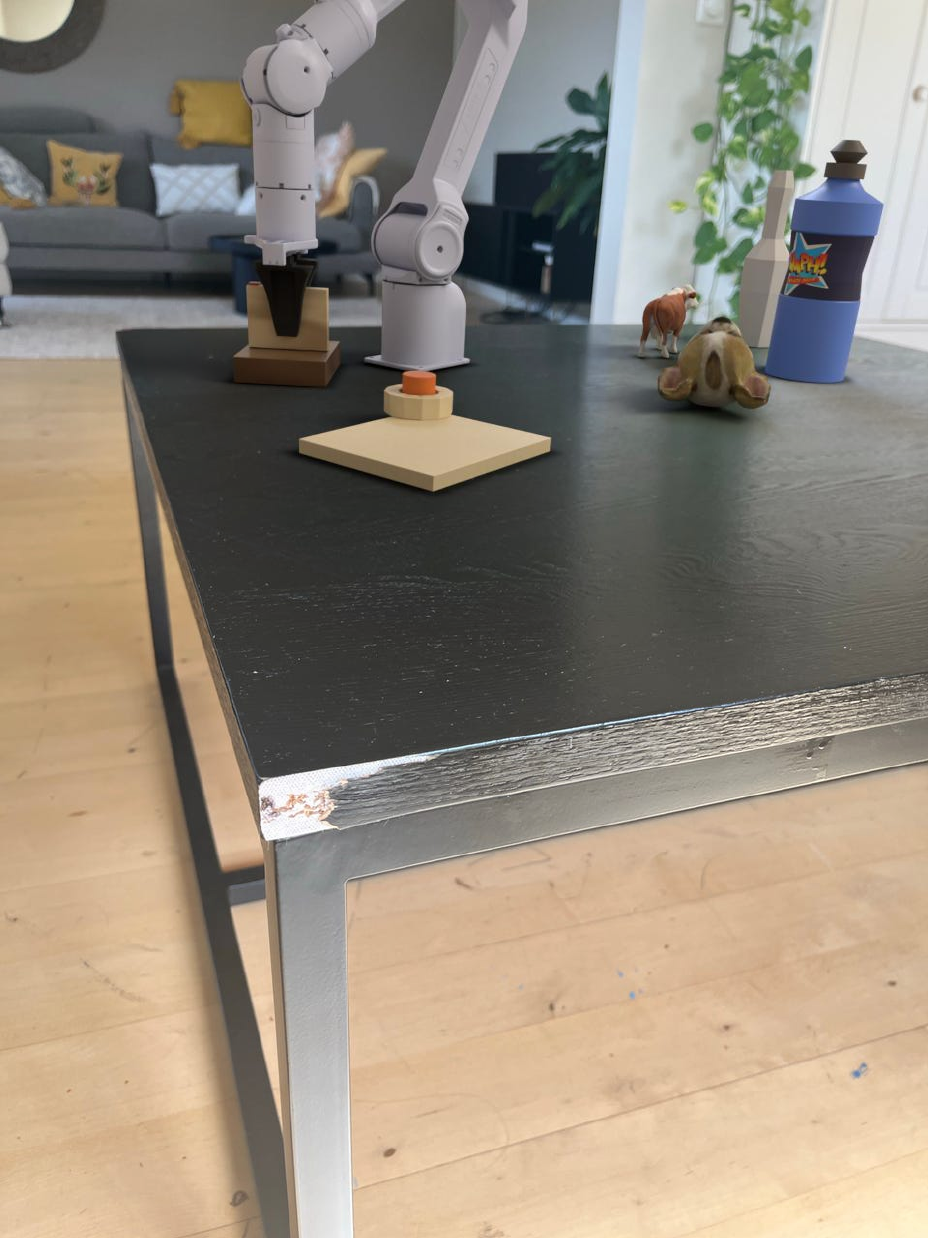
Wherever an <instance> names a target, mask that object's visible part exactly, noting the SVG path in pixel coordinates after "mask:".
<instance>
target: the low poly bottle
mask: <svg viewBox="0 0 928 1238" xmlns="http://www.w3.org/2000/svg"><path fill="white" fill-rule="evenodd" d="M794 191H795V179H794V170H783V169H775V170H774V172H773V174H772V177H771V179H770V182H769V184H768V186H767V194H766V204H765V206H766V207H765V213H764V221H763V226H762V231H761V236H760V237H761V238H760V239H758V241H757V242H756V243H755V244H754V246H753V247H752V248H751V249H750V251H749V252H748V253H747V254H746V255H745V256H744V262H743V266H742V272H741V280H740V285H739V293H738V311H737V327H738V328H739V330H740V333H741V336H742V338H743V339H744V340H745V342H746V343H747V345H748V347H749V348H750V347H751V348H769V345H770V340H771V334H772V329H773V324H774V318H775V313H776V308H777V303H778V298H779V293H780V291H781V288H782V285H783V282H784V279H785V276H786V273H787V269H788V262H789V248H788V247H787V245H786V242H785V241H784V235H785V230H786V224H787V219H788V214H789V209H790V206H791V202H792V199H793V194H794Z"/></svg>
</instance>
